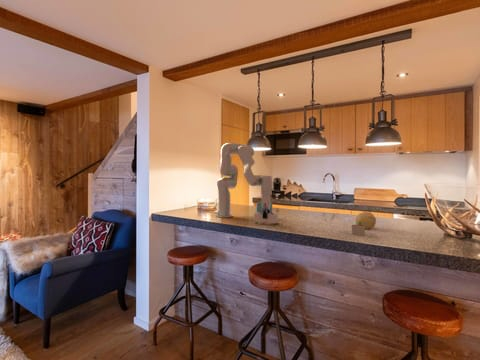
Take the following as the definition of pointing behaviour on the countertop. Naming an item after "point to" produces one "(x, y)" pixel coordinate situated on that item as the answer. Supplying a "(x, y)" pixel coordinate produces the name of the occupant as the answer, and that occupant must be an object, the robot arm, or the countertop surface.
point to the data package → (262, 209)
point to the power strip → (270, 217)
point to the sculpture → (366, 220)
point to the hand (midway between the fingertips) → (266, 217)
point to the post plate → (265, 222)
